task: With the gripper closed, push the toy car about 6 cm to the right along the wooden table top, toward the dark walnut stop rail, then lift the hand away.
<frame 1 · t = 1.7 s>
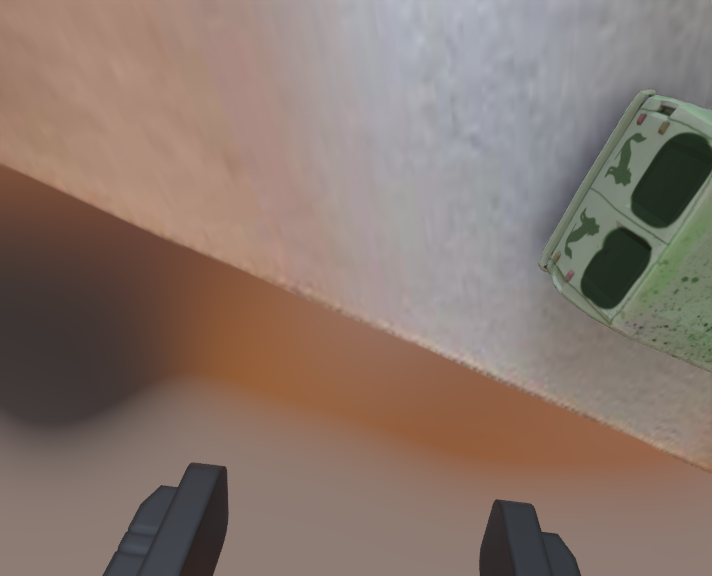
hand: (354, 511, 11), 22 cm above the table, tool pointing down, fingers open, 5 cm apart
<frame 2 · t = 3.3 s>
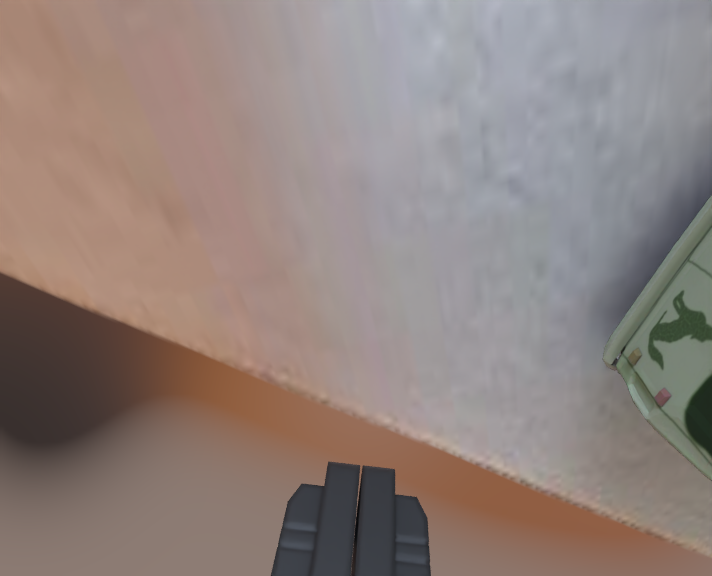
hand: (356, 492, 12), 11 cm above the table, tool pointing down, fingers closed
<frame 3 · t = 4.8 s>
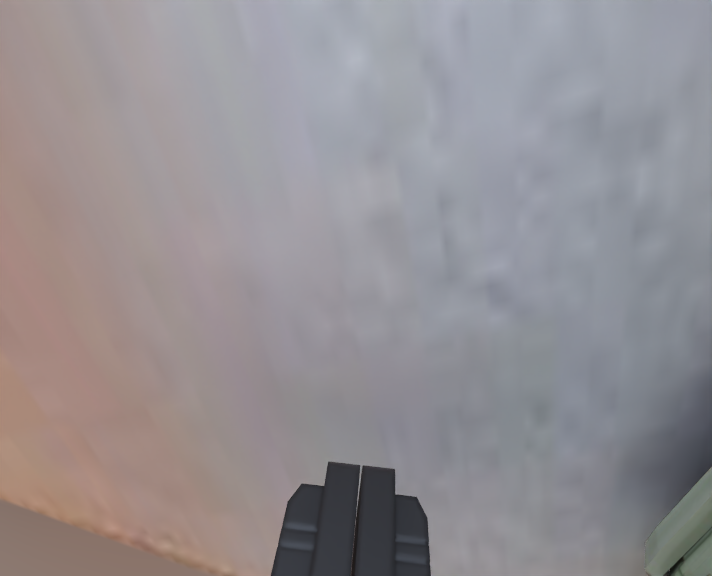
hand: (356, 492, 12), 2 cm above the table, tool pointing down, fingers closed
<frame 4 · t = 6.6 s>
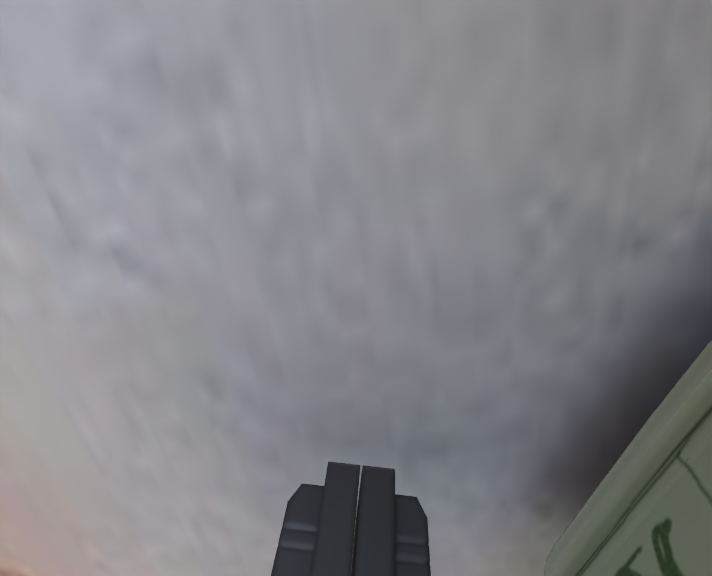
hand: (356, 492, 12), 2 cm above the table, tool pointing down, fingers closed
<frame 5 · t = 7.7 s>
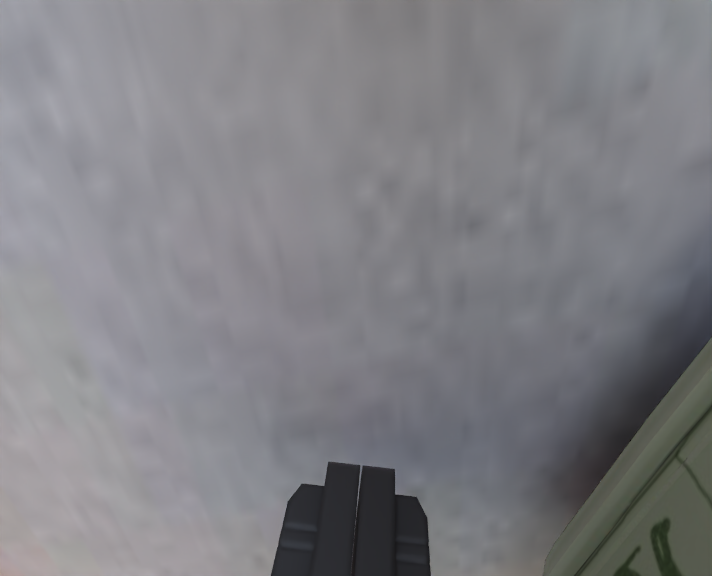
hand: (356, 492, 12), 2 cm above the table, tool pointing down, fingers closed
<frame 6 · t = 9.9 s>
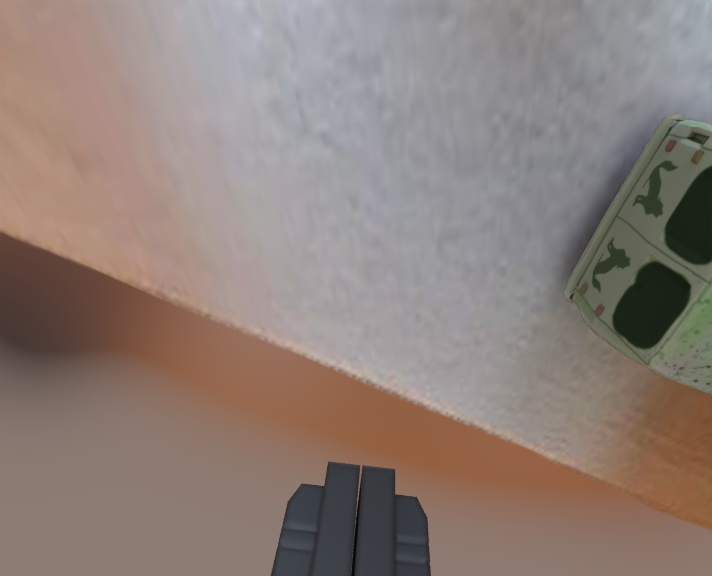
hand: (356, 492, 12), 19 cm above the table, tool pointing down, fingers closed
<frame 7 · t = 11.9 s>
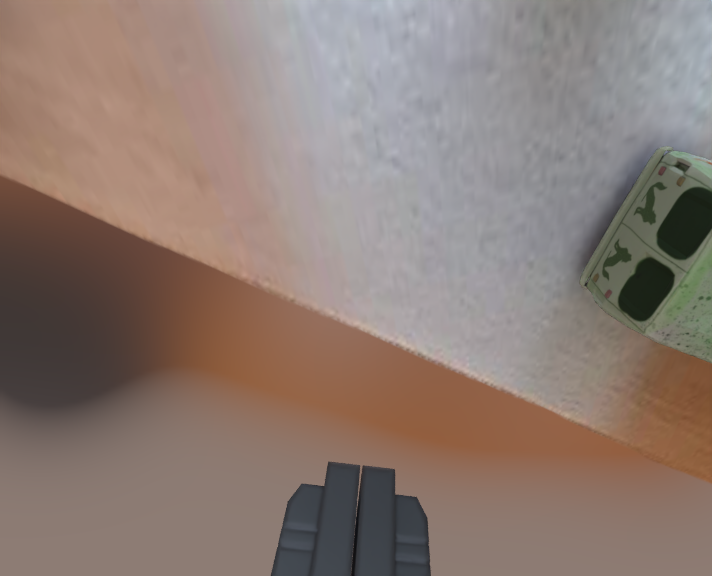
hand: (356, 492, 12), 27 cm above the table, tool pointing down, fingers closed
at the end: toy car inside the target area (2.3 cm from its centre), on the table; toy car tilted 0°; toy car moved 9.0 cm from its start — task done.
